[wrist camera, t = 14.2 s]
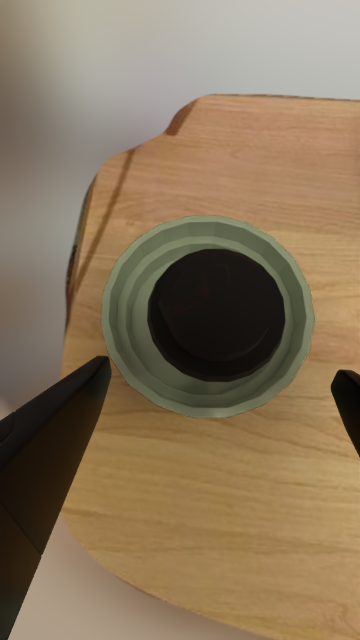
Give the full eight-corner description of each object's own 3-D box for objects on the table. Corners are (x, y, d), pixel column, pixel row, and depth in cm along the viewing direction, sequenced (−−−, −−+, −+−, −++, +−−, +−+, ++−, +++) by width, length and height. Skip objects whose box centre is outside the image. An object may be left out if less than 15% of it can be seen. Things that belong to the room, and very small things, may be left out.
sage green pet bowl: (185, 450, 18) (184, 472, 14) (88, 304, 22) (63, 285, 17) (323, 337, 20) (360, 324, 16) (214, 220, 24) (221, 184, 19)
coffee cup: (256, 324, 20) (323, 270, 10) (222, 398, 18) (262, 416, 9) (186, 290, 21) (186, 211, 11) (148, 357, 19) (111, 333, 10)
